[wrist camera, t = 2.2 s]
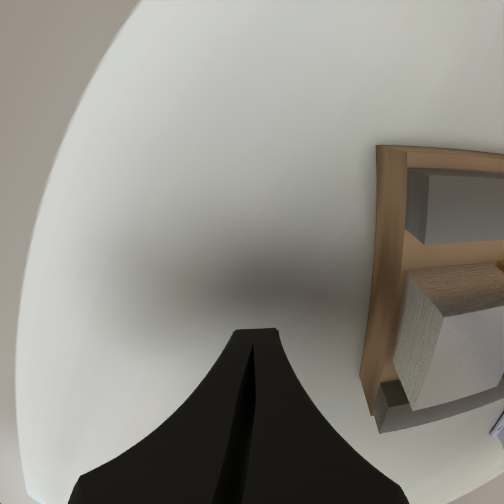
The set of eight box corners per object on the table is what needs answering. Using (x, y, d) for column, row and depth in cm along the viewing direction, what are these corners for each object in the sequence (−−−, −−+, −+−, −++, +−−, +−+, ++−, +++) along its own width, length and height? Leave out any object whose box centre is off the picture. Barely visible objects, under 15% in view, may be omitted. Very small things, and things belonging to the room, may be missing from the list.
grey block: (467, 342, 11) (496, 386, 8) (390, 357, 11) (412, 411, 9) (489, 261, 9) (533, 298, 7) (406, 269, 10) (444, 317, 7)
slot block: (490, 348, 15) (522, 394, 11) (359, 375, 16) (377, 439, 11) (530, 158, 10) (590, 178, 6) (376, 145, 11) (429, 156, 7)
